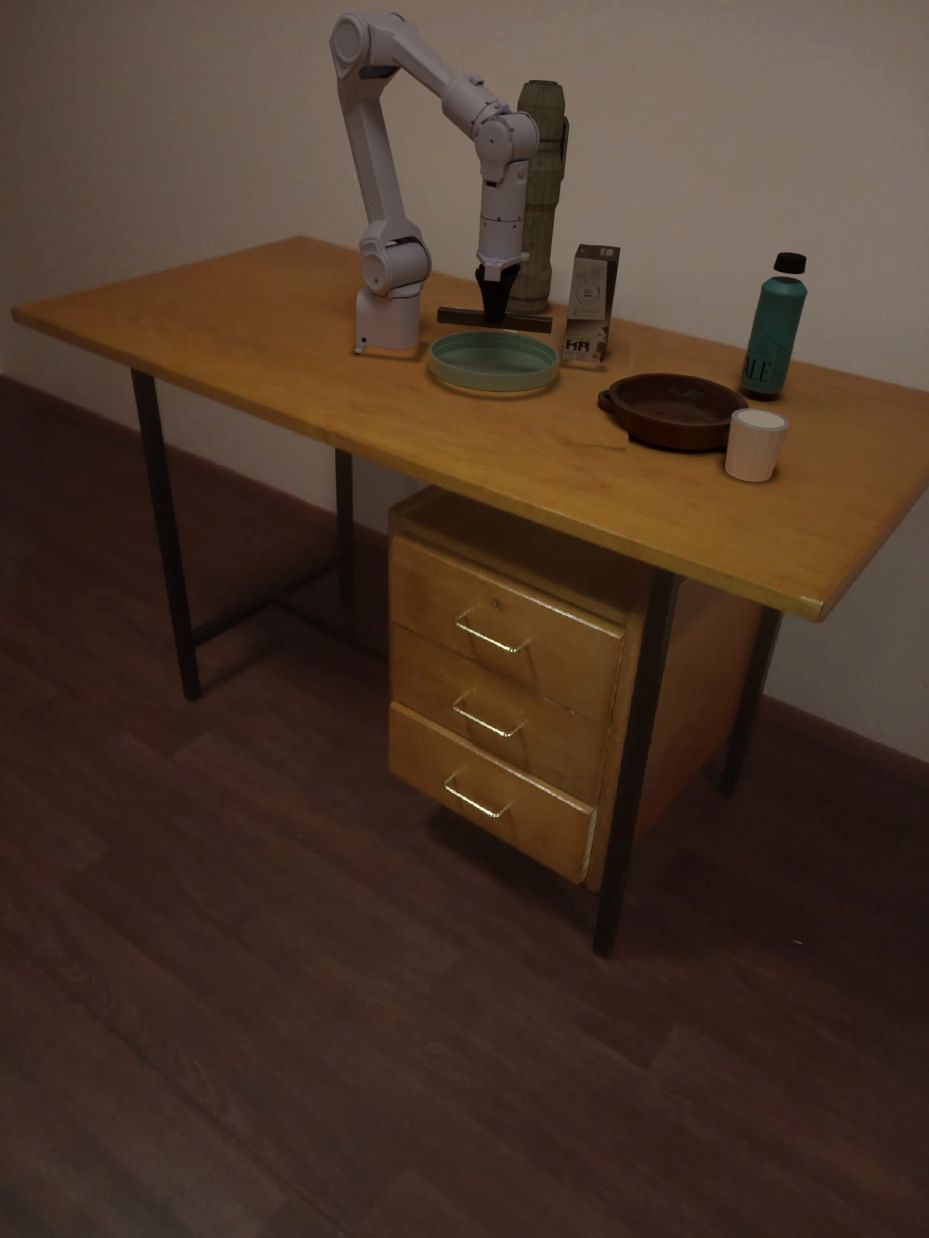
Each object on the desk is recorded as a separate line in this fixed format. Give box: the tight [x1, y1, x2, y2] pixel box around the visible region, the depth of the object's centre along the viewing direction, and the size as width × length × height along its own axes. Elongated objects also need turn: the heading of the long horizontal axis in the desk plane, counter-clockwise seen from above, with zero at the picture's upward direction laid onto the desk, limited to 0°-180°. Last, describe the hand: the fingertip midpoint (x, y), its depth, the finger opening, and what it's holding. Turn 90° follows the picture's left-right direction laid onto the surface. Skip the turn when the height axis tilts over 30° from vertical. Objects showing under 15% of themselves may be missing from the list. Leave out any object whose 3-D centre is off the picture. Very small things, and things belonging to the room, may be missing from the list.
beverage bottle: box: [740, 251, 809, 394], centre depth 134 cm, size 6×7×20 cm
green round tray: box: [427, 330, 560, 393], centre depth 139 cm, size 19×19×4 cm
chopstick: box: [436, 306, 554, 335], centre depth 132 cm, size 2×16×2 cm, turn 82°
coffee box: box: [561, 243, 621, 364], centre depth 144 cm, size 9×6×16 cm
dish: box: [597, 372, 750, 451], centre depth 125 cm, size 18×22×5 cm
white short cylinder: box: [724, 407, 791, 483], centre depth 116 cm, size 7×7×7 cm
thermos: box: [505, 79, 570, 315], centre depth 159 cm, size 9×12×35 cm
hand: (494, 320), depth 132 cm, fingers closed on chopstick, 2 cm apart
